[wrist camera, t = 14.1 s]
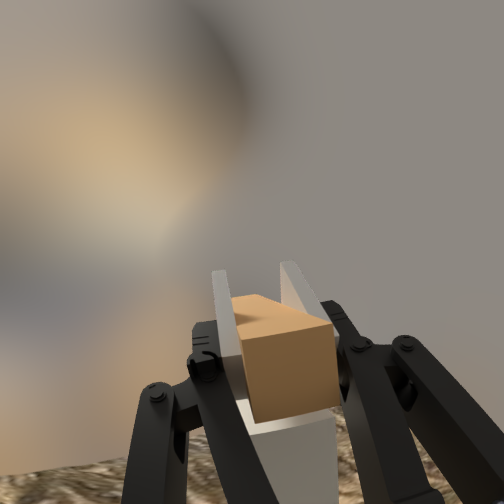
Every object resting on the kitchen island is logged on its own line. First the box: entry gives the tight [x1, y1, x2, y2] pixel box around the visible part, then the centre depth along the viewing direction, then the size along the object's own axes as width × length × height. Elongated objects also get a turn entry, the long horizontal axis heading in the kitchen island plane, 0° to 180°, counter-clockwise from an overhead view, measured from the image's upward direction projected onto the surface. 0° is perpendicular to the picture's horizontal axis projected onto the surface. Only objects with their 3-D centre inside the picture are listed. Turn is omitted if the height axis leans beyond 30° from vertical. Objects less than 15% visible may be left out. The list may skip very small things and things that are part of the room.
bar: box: [231, 294, 340, 424], centre depth 20 cm, size 3×21×3 cm, turn 6°
